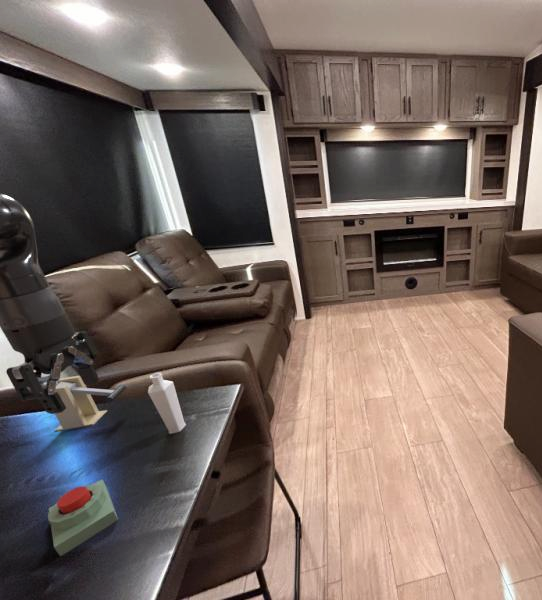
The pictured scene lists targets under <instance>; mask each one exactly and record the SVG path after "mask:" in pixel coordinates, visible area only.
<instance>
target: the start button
mask: <svg viewBox="0 0 542 600" xmlns="http://www.w3.org/2000/svg"><path fill="white" fill-rule="evenodd" d="M85 486H86V485H85ZM85 486H83V485H81V486H77V487H75V488H73V489H70V490H69V491H67V492H66V493H64V494H63V495H61V497H60V498H59V499H58V500H57V502H56V503H57V506H58V507H59V509H60V511H61V512H62V513H63V514H68V513H72V512H74V511H76V510H78V509H79V508H81V507H83V506H84V505H85V504H86V503H87V502H88V501H89V500H90V499H91V494H90V492H89V491H88V489H87V487H85Z"/></svg>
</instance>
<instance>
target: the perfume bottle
mask: <svg viewBox="0 0 542 600" xmlns="http://www.w3.org/2000/svg"><path fill="white" fill-rule="evenodd" d="M149 380H150V381H151V383H152V384H151V385H149V386H148V389H147V394H148V396H149V397H150V399H151V401H152V403H153V405H154V407H155V408H156V410H157V412H158V414H159V416H160V417H161V419H162V421H163V423H164V425H165V427H166V429H167V430H168V434H169V435H171V434H177V433H180V432H181V431H182V430H183V429H184V428H185V427H186V426H187V423H186V422H185V421H184V420H185V419H184V416H183V413H182V409H181V406H180V405H181V404H180V402H179V399H178V395H177V391H176V387H175V384H174V381H171V380H167V379H164V377H163V374H162V372H155V373H152V374H150V375H149Z"/></svg>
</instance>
